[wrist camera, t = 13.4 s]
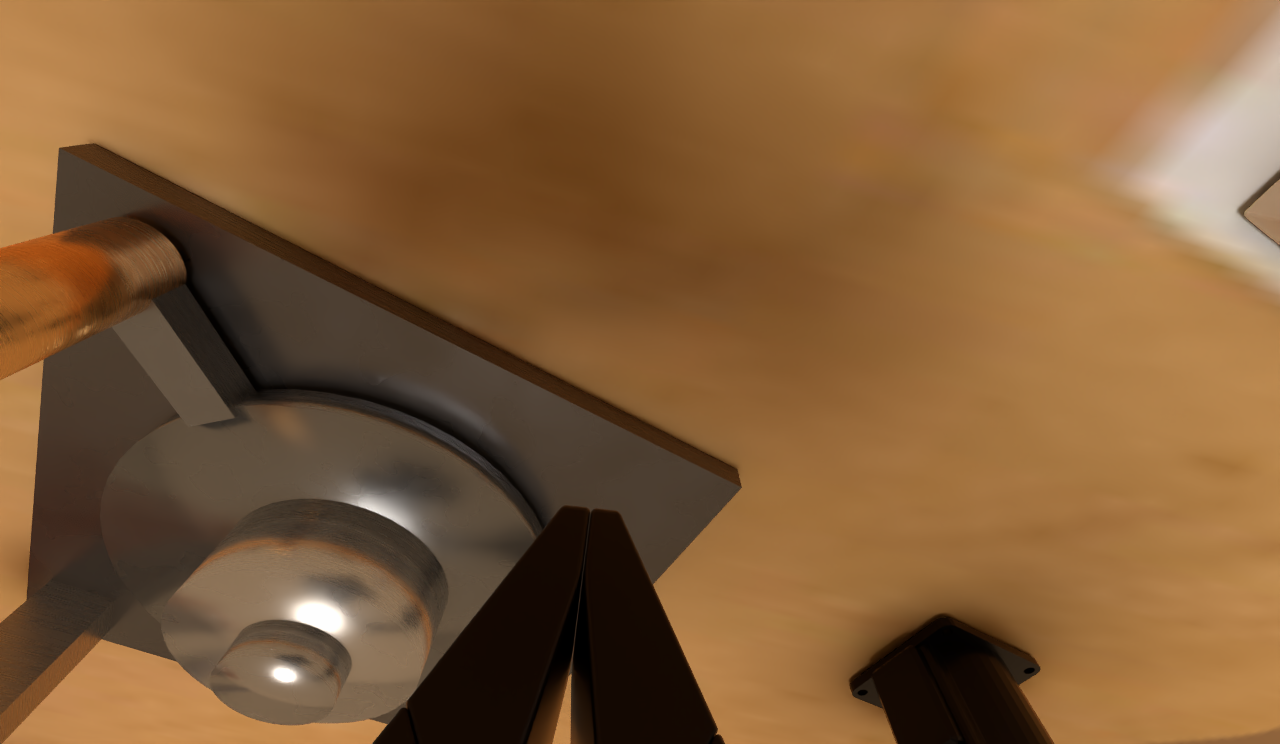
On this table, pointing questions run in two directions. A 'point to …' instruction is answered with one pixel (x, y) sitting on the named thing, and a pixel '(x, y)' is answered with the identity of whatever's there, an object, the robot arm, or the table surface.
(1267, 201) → the milk carton
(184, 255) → the base plate
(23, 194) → the table surface
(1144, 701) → the table surface
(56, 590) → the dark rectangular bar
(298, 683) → the cover
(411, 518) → the turntable
